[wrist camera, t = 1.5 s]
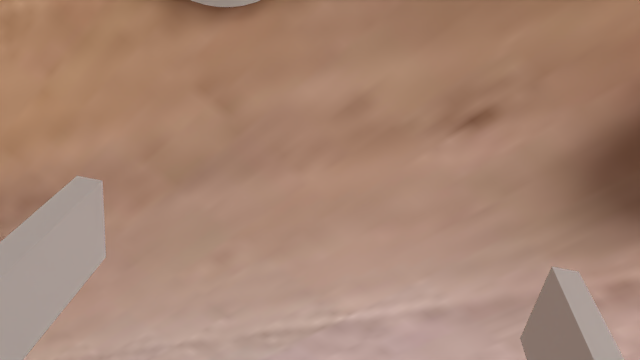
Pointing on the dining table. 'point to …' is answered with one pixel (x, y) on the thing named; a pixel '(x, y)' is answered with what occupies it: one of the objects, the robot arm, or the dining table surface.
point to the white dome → (225, 2)
